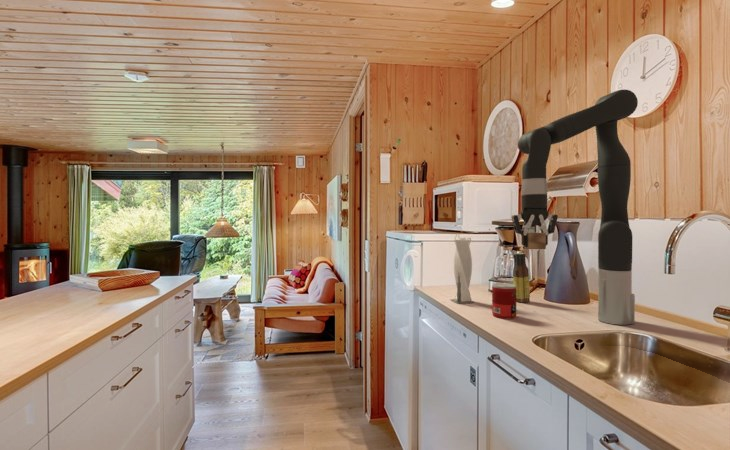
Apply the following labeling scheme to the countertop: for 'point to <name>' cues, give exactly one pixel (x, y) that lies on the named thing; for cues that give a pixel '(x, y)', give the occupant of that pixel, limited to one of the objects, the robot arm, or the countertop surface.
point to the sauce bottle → (521, 278)
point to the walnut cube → (536, 240)
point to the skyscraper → (462, 270)
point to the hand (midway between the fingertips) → (534, 246)
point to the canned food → (504, 300)
